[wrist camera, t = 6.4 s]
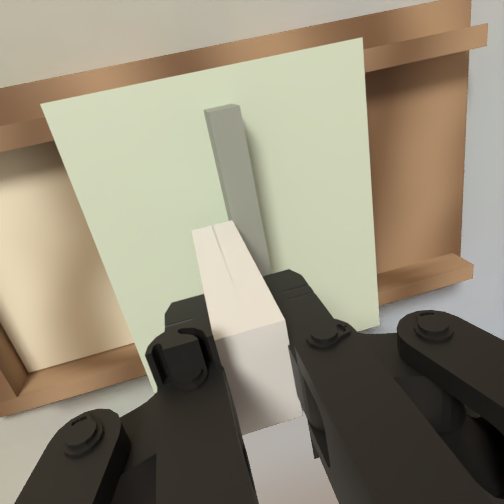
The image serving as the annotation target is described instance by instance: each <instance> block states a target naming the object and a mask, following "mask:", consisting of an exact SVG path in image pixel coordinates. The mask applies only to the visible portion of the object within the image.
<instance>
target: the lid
mask: <svg viewBox="0 0 504 504" xmlns="http://www.w3.org/2000/svg"><path fill="white" fill-rule="evenodd" d="M40 105H41V108H42V110H43V113H44V115H45V118H46V120H47V123H48V125H49V128H50V130H51V133H52V136H53V138H54V141H55V143H56V146H57V148H58V151H59V153H60V156H61V158H62V161H63V163H64V166H65V168H66V171H67V173H68V176H69V179H70V181H71V184H72V186H73V189H74V191H75V194H76V196H77V199H78V201H79V204H80V206H81V209H82V211H83V214H84V216H85V219H86V221H87V224H88V227H89V229H90V232H91V234H92V237H93V239H94V242H95V244H96V247H97V249H98V252H99V254H100V257H101V259H102V262H103V264H104V267H105V270H106V272H107V275H108V277H109V280H110V282H111V285H112V287H113V290H114V292H115V295H116V297H117V300H118V302H119V305H120V307H121V310H122V312H123V315H124V318H125V320H126V323H127V325H128V328H129V330H130V333H131V335H132V338H133V340H134V343H135V345H136V348H137V350H138V353H139V355H140V358H141V360H142V363H143V366H144V368H145V371H146V373H147V376H148V378H149V381H150V383H151V386H152V388H153V391H154V393H156V392H157V385H156V383H155V380H154V378H153V375H152V373H151V370H150V367H149V365H148V362H147V360H146V357H145V353H146V350H147V347H148V345H149V344H150V343H151V342H152V341H153V340H154V339H155V338H156V337H157V336H159V335H160V334H162V333H163V332H165V316H164V314H165V313H166V311H167V309H168V308H169V306H170V304H171V303H172V302H176V301H179V300H183V299H187V298H190V297H194V296H198V295H201V294H204V290H203V285H202V280H201V275H200V270H199V265H198V260H197V256H196V251H195V246H194V241H193V236H192V231H191V230H195V229H199V228H203V227H207V226H211V225H215V224H219V223H223V222H227V221H231V220H232V221H233V222H234V224H235V226H236V228H237V230H238V232H239V234H240V235H241V237H242V239H243V241H244V243H245V245H246V247H247V249H248V251H249V253H250V254H251V256H252V258H253V260H254V262H255V264H256V266H257V268H258V270H259V271H260V273H261V275H262V276H266V275H269V274H273V273H277V272H280V271H284V270H288V269H290V270H292V271H294V272H296V273H299V274H301V275H302V276H303V278H304V279H305V280H306V282H307V283H308V285H309V286H310V287H311V288H312V290H313V291H314V293H315V294H316V295H317V296H318V298H319V299H320V300H321V302H322V303H323V304H324V306H325V307H326V308H327V310H328V311H329V313H330V314H331V315H332V317H333V318H334V319H338V320H341V321H344V322H347V323H348V324H350V325H351V326H352V327H353V328H354V329H355V330H356V331H357V332H358V331H362V330H365V329H368V328H371V327H375V326H378V325H380V320H379V304H378V287H377V270H376V254H375V237H374V220H373V204H372V187H371V170H370V154H369V137H368V120H367V104H366V87H365V70H364V54H363V37H361V38H356V39H351V40H347V41H342V42H337V43H332V44H327V45H323V46H318V47H313V48H308V49H303V50H298V51H294V52H289V53H284V54H279V55H274V56H269V57H265V58H260V59H255V60H250V61H245V62H240V63H236V64H231V65H226V66H221V67H216V68H211V69H207V70H202V71H197V72H192V73H187V74H182V75H178V76H173V77H168V78H163V79H158V80H153V81H149V82H144V83H139V84H134V85H129V86H125V87H120V88H115V89H110V90H105V91H100V92H96V93H91V94H86V95H81V96H76V97H71V98H67V99H62V100H57V101H52V102H47V103H42V104H40Z"/></svg>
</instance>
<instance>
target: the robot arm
mask: <svg viewBox="0 0 504 504" xmlns="http://www.w3.org/2000/svg"><path fill="white" fill-rule="evenodd" d="M191 231H192V236H193V241H194V246H195V251H196V256H197V260H198V265H199V270H200V275H201V280H202V285H203V290H204V294H201V295H198V296H194V297H190V298H187V299H183V300H179V301H176V302H172V303H171V304H170V306H169V308H168V309H167V311H166V313H165V314H164V316H165V332H163V333H162V334H160V335H159V336H157V337H156V338H155V339H154V340H153V341H152V342H151V343H150V344H149V345H148V347H147V350H146V353H145V357H146V360H147V362H148V365H149V367H150V370H151V373H152V375H153V378H154V380H155V383H156V385H157V392H156V394H155V395H154V396H153V397H152V398H150V399H149V400H148V401H147V402H146V403H144V404H143V405H141V406H140V407H138V408H136V409H135V410H133V411H131V412H129V413H128V414H126V415H124V416H122V417H120V418H119V416H118V414H117V413H115V412H113V411H112V410H110V409H95V410H92V411H88V412H84V413H83V414H81V415H79V416H77V417H75V418H73V419H71V420H70V421H69V422H68V423H66V424H65V425H64V426H63V427H62V428H60V429H59V430H58V431H57V433H56V434H55V435H54V437H53V438H52V439H51V441H50V442H49V444H48V445H47V447H46V449H45V451H44V452H43V454H42V456H41V458H40V459H39V461H38V463H37V465H36V466H35V468H34V470H33V472H32V473H31V475H30V477H29V479H28V481H27V482H26V484H25V486H24V488H23V489H22V491H21V493H20V495H19V496H18V498H17V500H16V502H15V503H14V504H259V503H258V499H257V495H256V490H255V486H254V482H253V477H252V473H251V469H250V464H249V460H248V456H247V452H246V449H245V445H244V442H243V439H242V435H244V434H248V433H251V432H254V431H257V430H260V429H263V428H266V427H269V426H273V425H276V424H279V423H282V422H285V421H288V420H291V419H295V418H297V417H301V416H303V414H302V409H301V405H302V407H303V410H304V412H305V414H306V417H307V419H308V425H309V431H310V436H311V442H312V447H313V453H314V458H315V459H316V458H319V457H320V459H321V462H322V464H323V466H324V469H325V471H326V474H327V476H328V478H329V481H330V483H331V485H332V488H333V490H334V493H335V495H336V497H337V500H338V502H339V504H504V340H502V339H500V338H498V337H496V336H494V335H492V334H490V333H488V332H486V331H484V330H482V329H480V328H478V327H476V326H474V325H472V324H471V323H469V322H467V321H465V320H463V319H461V318H459V317H457V316H454V315H452V314H449V313H446V312H442V311H434V310H424V311H416V312H413V313H410V314H407V315H406V316H405V317H403V318H402V319H401V320H400V321H399V323H398V326H397V333H387V334H361V333H358V332H357V331H356V330H355V329H354V328H353V327H352V326H351V325H350V324H348V323H347V322H344V321H341V320H338V319H334V318H333V317H332V315H331V314H330V313H329V311H328V310H327V308H326V307H325V306H324V304H323V303H322V302H321V300H320V299H319V298H318V296H317V295H316V294H315V293H314V291H313V290H312V288H311V287H310V286H309V285H308V283H307V282H306V280H305V279H304V278H303V276H302V275H301V274H299V273H296V272H294V271H292V270H290V269H288V270H284V271H280V272H277V273H273V274H269V275H266V276H262V275H261V273H260V271H259V270H258V268H257V266H256V264H255V262H254V260H253V258H252V256H251V254H250V253H249V251H248V249H247V247H246V245H245V243H244V241H243V239H242V237H241V235H240V234H239V232H238V230H237V228H236V226H235V224H234V222H233V221H232V220H231V221H227V222H223V223H219V224H215V225H211V226H207V227H203V228H199V229H195V230H191Z"/></svg>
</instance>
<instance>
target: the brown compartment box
mask: <svg viewBox="0 0 504 504" xmlns="http://www.w3.org/2000/svg"><path fill="white" fill-rule="evenodd" d="M470 21H471V0H439V1H434V2H429V3H424V4H419V5H414V6H409V7H404V8H399V9H394V10H389V11H384V12H379V13H374V14H369V15H364V16H359V17H354V18H349V19H344V20H339V21H334V22H329V23H324V24H319V25H314V26H309V27H304V28H299V29H294V30H289V31H284V32H279V33H274V34H269V35H264V36H259V37H254V38H249V39H244V40H239V41H234V42H230V43H225V44H220V45H215V46H210V47H205V48H200V49H195V50H190V51H185V52H180V53H175V54H170V55H165V56H160V57H155V58H150V59H145V60H140V61H135V62H130V63H125V64H120V65H115V66H110V67H105V68H100V69H95V70H90V71H85V72H80V73H75V74H70V75H65V76H60V77H55V78H50V79H45V80H40V81H35V82H30V83H25V84H20V85H15V86H10V87H5V88H0V417H3V416H9V415H12V414H16V413H19V412H22V411H26V410H29V409H33V408H36V407H39V406H43V405H46V404H49V403H53V402H56V401H60V400H63V399H66V398H70V397H73V396H76V395H80V394H83V393H87V392H90V391H93V390H97V389H100V388H103V387H107V386H110V385H114V384H117V383H120V382H124V381H127V380H131V379H134V378H137V377H141V376H144V375H147V373H146V371H145V368H144V366H143V363H142V360H141V358H140V355H139V353H138V350H137V348H136V345H135V343H134V340H133V338H132V335H131V333H130V330H129V328H128V325H127V323H126V320H125V318H124V315H123V312H122V310H121V307H120V305H119V302H118V300H117V297H116V295H115V292H114V290H113V287H112V285H111V282H110V280H109V277H108V275H107V272H106V270H105V267H104V264H103V262H102V259H101V257H100V254H99V252H98V249H97V247H96V244H95V242H94V239H93V237H92V234H91V232H90V229H89V227H88V224H87V221H86V219H85V216H84V214H83V211H82V209H81V206H80V204H79V201H78V199H77V196H76V194H75V191H74V189H73V186H72V184H71V181H70V179H69V176H68V173H67V171H66V168H65V166H64V163H63V161H62V158H61V156H60V153H59V151H58V148H57V146H56V143H55V141H54V138H53V136H52V133H51V130H50V128H49V125H48V123H47V120H46V118H45V115H44V113H43V110H42V108H41V105H40V104H42V103H47V102H52V101H57V100H62V99H67V98H71V97H76V96H81V95H86V94H91V93H96V92H100V91H105V90H110V89H115V88H120V87H125V86H129V85H134V84H139V83H144V82H149V81H153V80H158V79H163V78H168V77H173V76H178V75H182V74H187V73H192V72H197V71H202V70H207V69H211V68H216V67H221V66H226V65H231V64H236V63H240V62H245V61H250V60H255V59H260V58H265V57H269V56H274V55H279V54H284V53H289V52H294V51H298V50H303V49H308V48H313V47H318V46H323V45H327V44H332V43H337V42H342V41H347V40H351V39H356V38H361V37H363V54H364V70H365V87H366V104H367V120H368V137H369V154H370V170H371V187H372V204H373V220H374V237H375V254H376V270H377V287H378V304H379V306H381V305H384V304H387V303H391V302H394V301H398V300H401V299H404V298H408V297H411V296H414V295H418V294H421V293H425V292H428V291H431V290H435V289H438V288H442V287H445V286H448V285H452V284H455V283H458V282H462V281H465V280H469V279H472V278H473V267H474V265H473V264H472V263H470V262H468V261H466V260H464V259H463V258H461V257H460V252H461V229H462V206H463V183H464V160H465V137H466V113H467V90H468V67H469V50H471V49H475V48H480V47H484V46H487V33H488V23H487V24H482V25H477V26H472V27H470Z"/></svg>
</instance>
